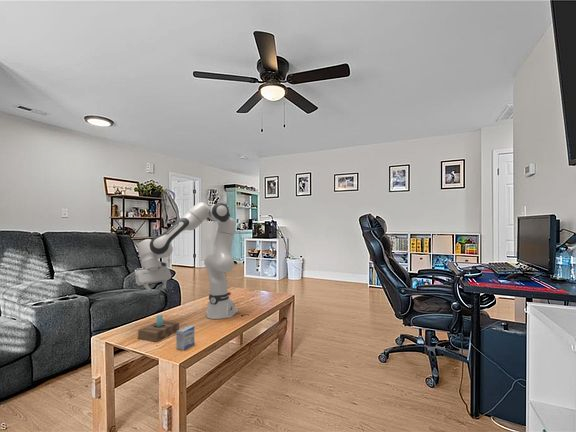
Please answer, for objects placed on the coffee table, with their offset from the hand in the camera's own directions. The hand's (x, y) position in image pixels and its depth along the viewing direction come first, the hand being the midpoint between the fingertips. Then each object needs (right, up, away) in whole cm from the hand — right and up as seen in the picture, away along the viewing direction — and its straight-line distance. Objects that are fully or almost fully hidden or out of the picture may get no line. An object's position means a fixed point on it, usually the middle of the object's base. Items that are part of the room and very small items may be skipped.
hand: (157, 289), depth 162 cm
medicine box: (+24, -21, -24) cm, 40 cm away
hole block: (+5, -21, -9) cm, 24 cm away
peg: (+5, -21, -9) cm, 24 cm away
